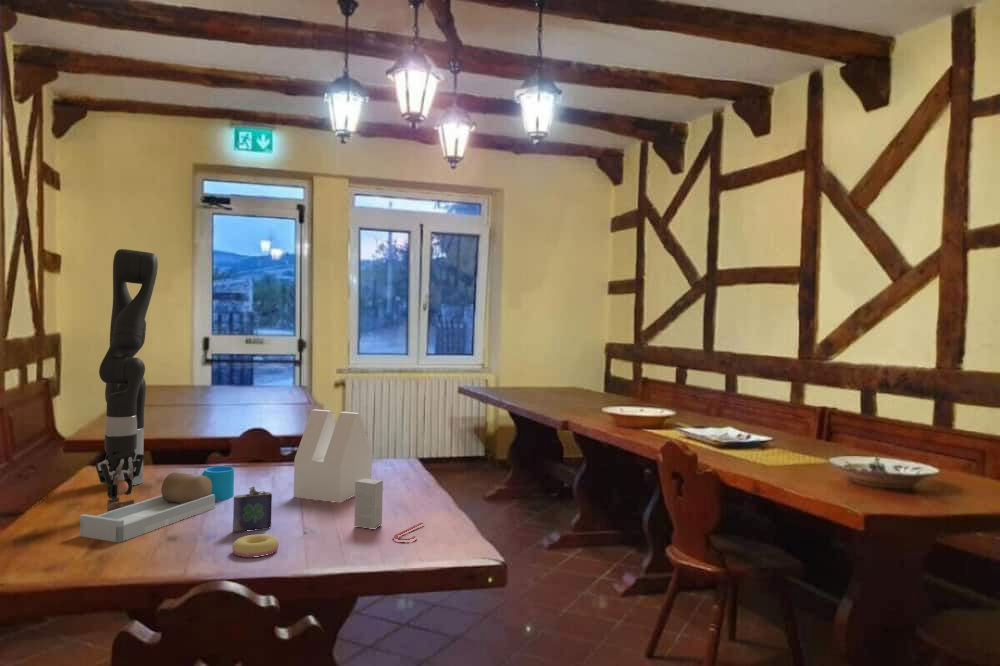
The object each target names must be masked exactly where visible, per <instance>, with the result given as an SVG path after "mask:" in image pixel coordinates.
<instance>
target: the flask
mask: <svg viewBox="0 0 1000 666" xmlns="http://www.w3.org/2000/svg"><path fill="white" fill-rule="evenodd" d="M249 489H250V490H249V492H248V493H246V494H238V495H234V496H233V514H232V515H233V517H232V519H233V520H232V532H233V531H234V532H236V533H238V532H242V533H244V532H243V531H247V530H255V529H263V528H269V527H270V528H272V504H273V503H272V502H273V499H272V497H273V494H272V493H271V492H269V491H264V490H263V491H258V490H256V487H255V486H252V487H249ZM270 528H269V529H270ZM263 530H264V529H263ZM255 531H256V530H255ZM234 532H233V533H234Z"/></svg>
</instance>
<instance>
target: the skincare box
mask: <svg viewBox="0 0 1000 666" xmlns="http://www.w3.org/2000/svg"><path fill="white" fill-rule="evenodd" d="M383 481H384V480H380V479H372V478H371V479H364V478H363V479H361V480H358V481H356V482H355V496H354V523H353V524H354V526H358V527H366V528H376V527H378V526H379V525H381V524H382V525H383V495H384V494H383V492H384V491H383V490H384V487H383V486H384V483H383Z"/></svg>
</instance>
